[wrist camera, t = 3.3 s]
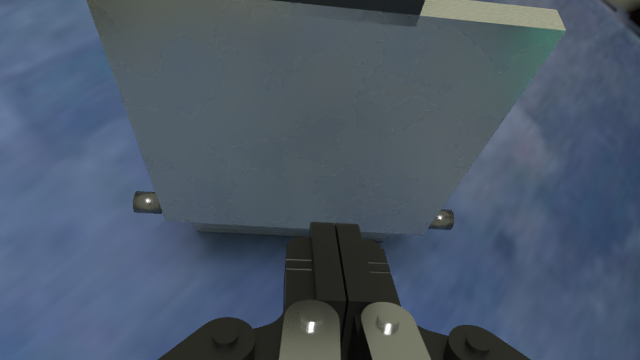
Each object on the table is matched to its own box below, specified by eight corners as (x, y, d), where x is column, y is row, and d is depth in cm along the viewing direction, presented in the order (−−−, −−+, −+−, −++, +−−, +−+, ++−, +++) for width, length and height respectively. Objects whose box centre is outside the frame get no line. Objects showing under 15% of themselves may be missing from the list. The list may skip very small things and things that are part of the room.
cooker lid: (421, 219, 31) (423, 235, 31) (169, 205, 30) (165, 221, 29) (618, -85, 14) (632, -65, 14) (51, -160, 13) (35, -141, 12)
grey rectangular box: (426, 251, 40) (474, 228, 31) (146, 236, 38) (108, 208, 28) (419, 84, 45) (458, 22, 36) (173, 62, 43) (148, -10, 34)
